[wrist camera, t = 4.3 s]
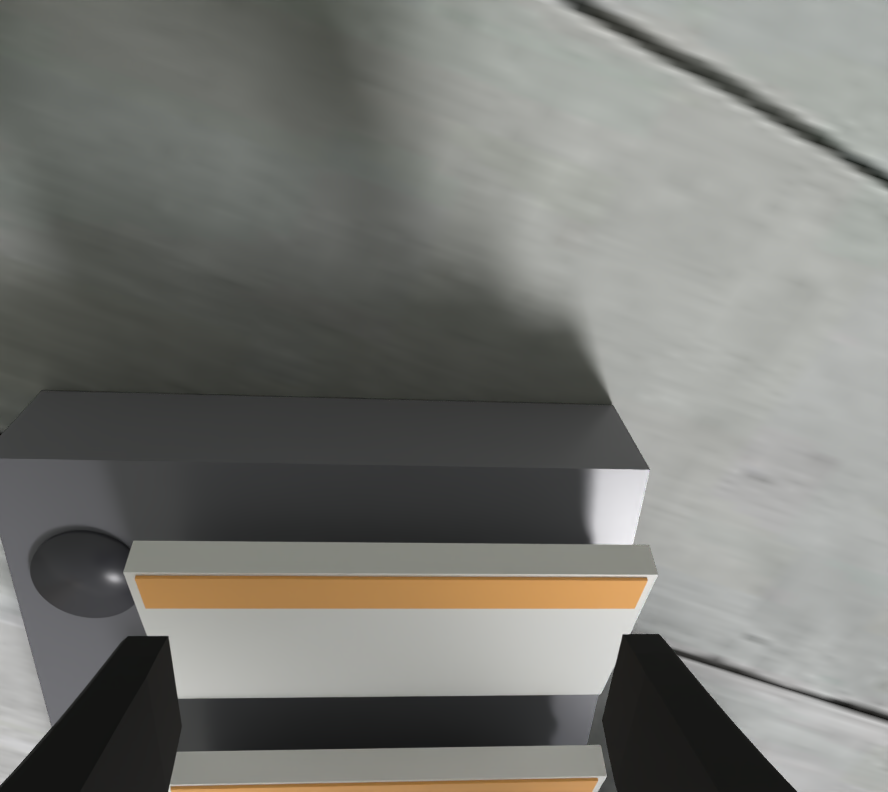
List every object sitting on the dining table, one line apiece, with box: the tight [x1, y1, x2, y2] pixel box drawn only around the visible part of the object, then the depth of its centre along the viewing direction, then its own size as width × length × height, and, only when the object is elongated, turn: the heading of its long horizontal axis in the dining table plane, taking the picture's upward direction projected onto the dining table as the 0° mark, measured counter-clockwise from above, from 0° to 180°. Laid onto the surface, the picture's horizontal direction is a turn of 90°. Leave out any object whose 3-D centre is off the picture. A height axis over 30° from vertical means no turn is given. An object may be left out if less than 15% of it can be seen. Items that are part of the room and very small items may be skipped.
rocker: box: [123, 541, 658, 699], centre depth 16 cm, size 5×10×1 cm, turn 86°
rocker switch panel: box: [0, 391, 650, 752], centre depth 21 cm, size 18×14×3 cm
